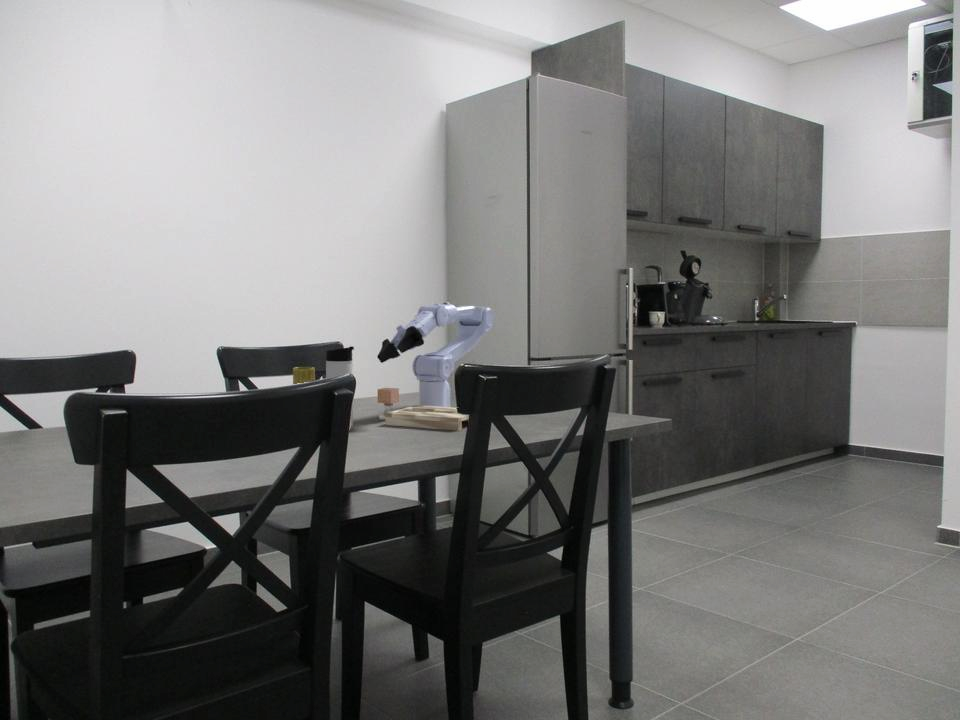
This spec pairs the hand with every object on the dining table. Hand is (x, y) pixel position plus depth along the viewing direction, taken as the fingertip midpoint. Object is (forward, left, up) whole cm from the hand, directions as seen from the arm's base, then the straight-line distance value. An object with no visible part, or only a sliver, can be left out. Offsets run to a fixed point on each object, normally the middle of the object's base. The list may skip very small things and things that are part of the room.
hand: (389, 354), depth 203 cm
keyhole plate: (-3, +11, -17) cm, 21 cm away
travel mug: (+16, -5, -17) cm, 24 cm away
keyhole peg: (-3, -3, -17) cm, 18 cm away
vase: (+14, -17, -17) cm, 28 cm away
